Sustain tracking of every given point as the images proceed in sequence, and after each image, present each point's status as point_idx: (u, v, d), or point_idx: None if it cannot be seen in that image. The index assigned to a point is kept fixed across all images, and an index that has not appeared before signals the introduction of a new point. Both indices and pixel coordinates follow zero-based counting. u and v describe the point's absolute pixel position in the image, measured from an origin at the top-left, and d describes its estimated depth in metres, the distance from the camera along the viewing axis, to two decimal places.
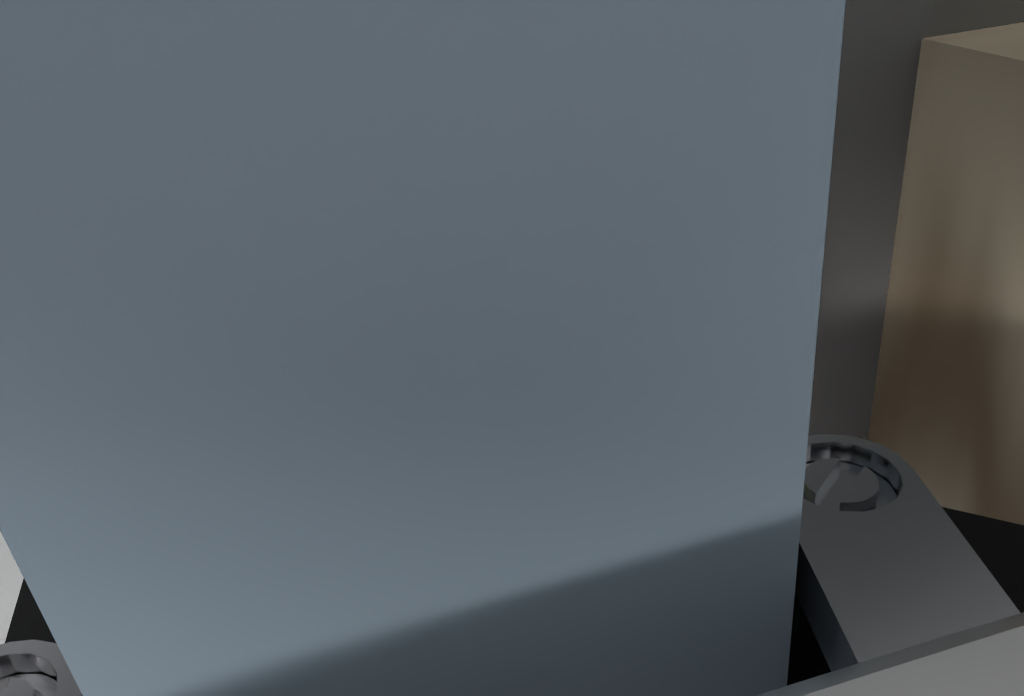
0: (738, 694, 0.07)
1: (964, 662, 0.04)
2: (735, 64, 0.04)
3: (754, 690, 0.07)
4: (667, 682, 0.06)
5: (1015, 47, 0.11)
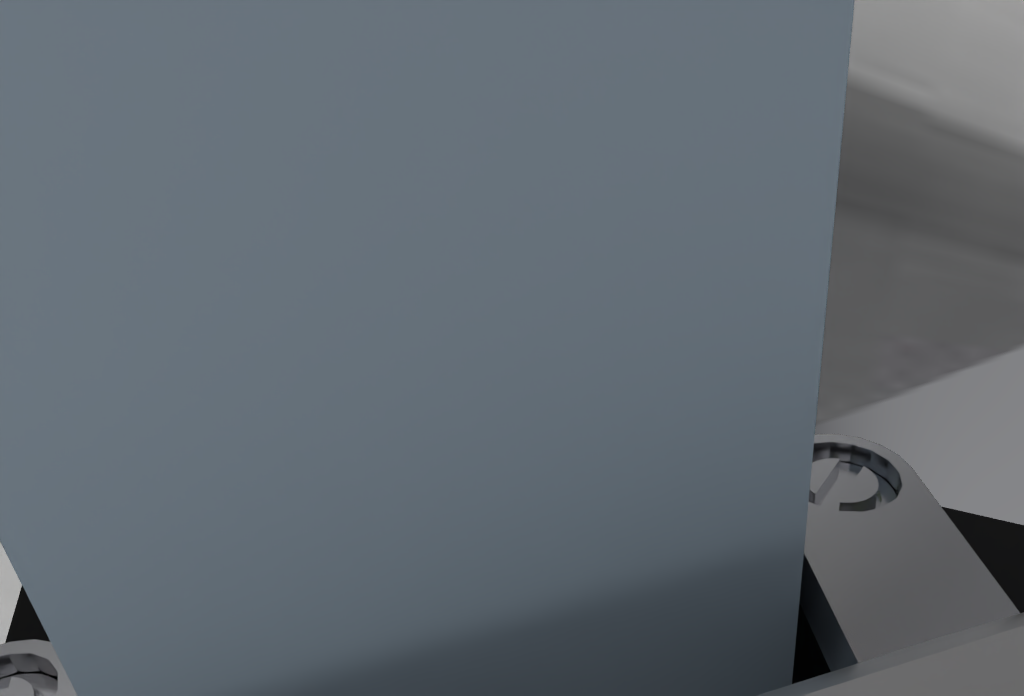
0: None
1: (964, 662, 0.04)
2: (742, 89, 0.04)
3: None
4: None
5: None
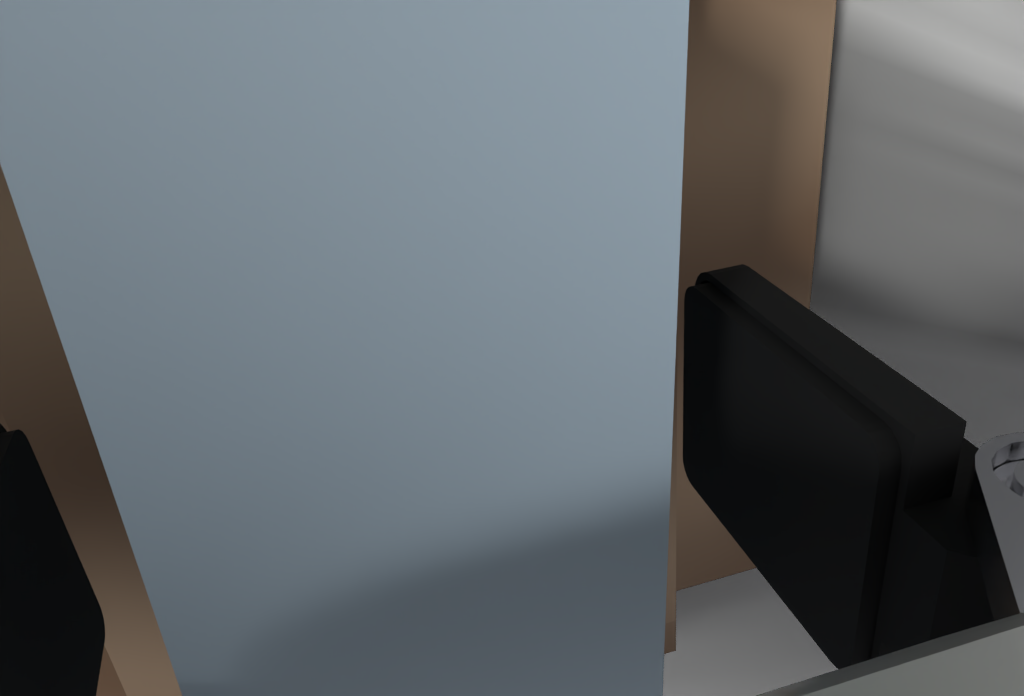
0: (627, 547, 0.08)
1: (964, 662, 0.04)
2: (609, 29, 0.06)
3: (641, 546, 0.08)
4: (568, 530, 0.08)
5: None
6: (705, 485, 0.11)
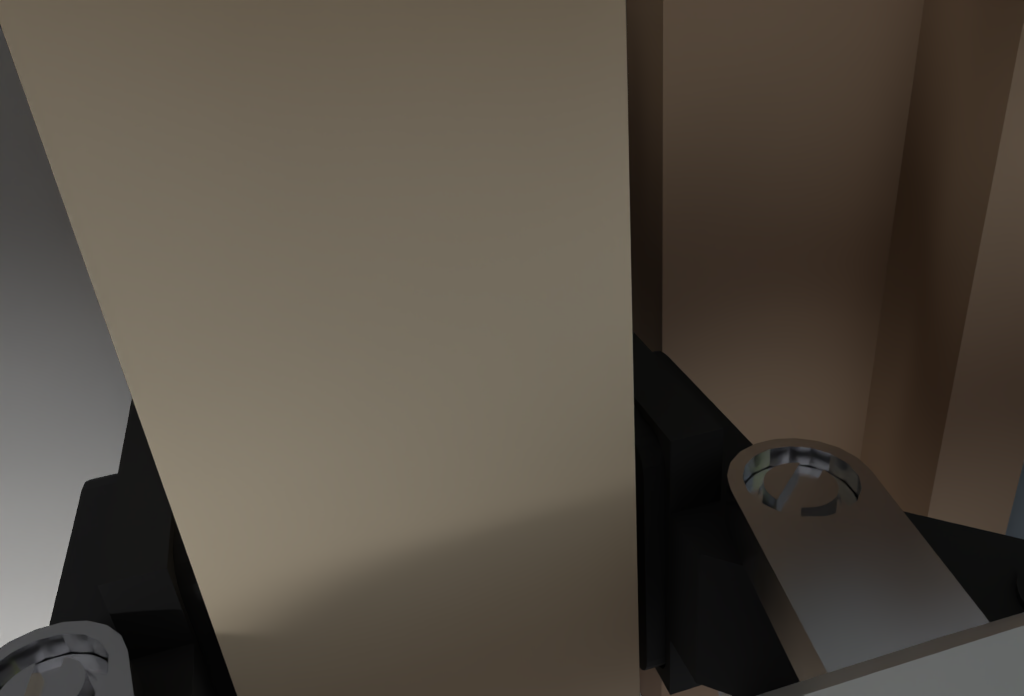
0: None
1: (964, 662, 0.04)
2: None
3: None
4: None
5: None
6: None
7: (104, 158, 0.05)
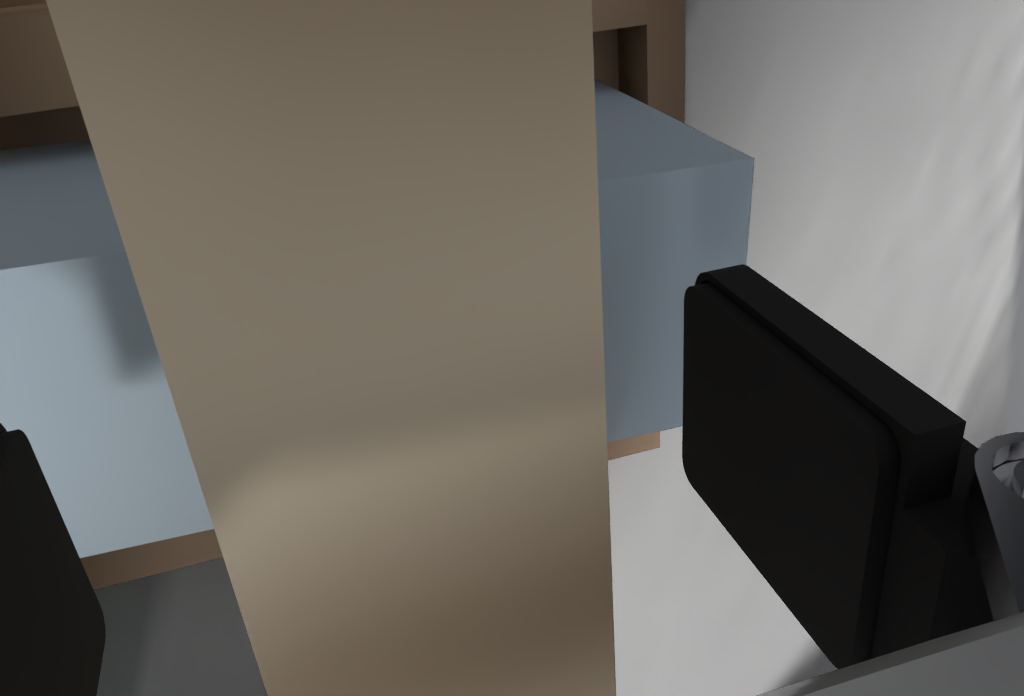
0: None
1: (964, 662, 0.04)
2: None
3: None
4: None
5: None
6: (705, 485, 0.11)
7: (137, 136, 0.06)
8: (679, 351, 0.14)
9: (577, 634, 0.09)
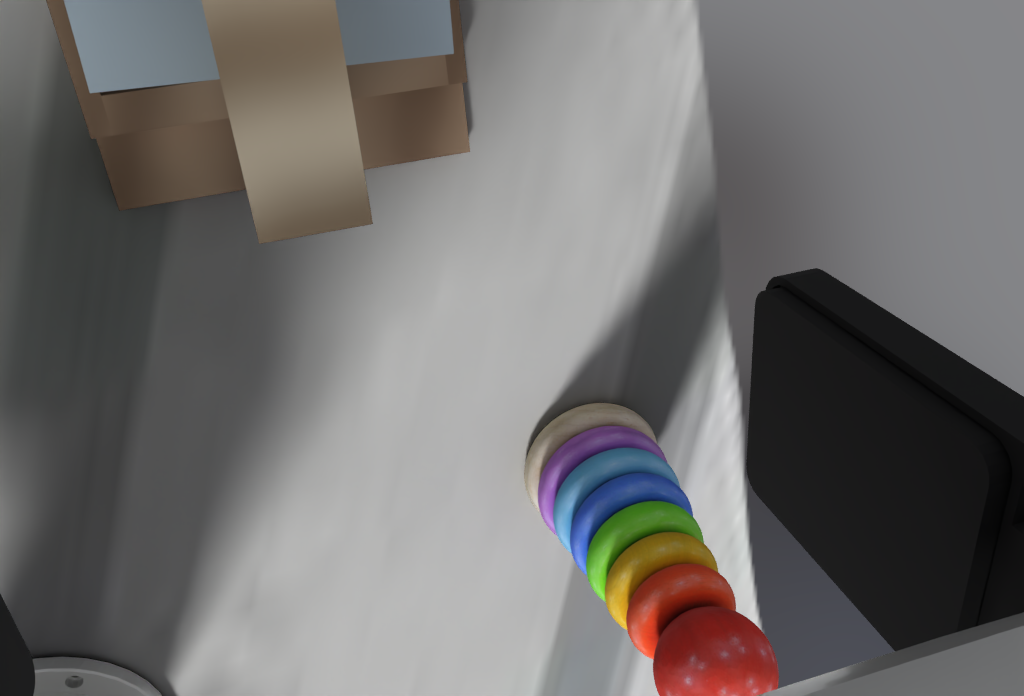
0: None
1: (964, 662, 0.04)
2: None
3: None
4: None
5: None
6: (773, 494, 0.11)
7: None
8: (419, 12, 0.30)
9: (328, 47, 0.25)
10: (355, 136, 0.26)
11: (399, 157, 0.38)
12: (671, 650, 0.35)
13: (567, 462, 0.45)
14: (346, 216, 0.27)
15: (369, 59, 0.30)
